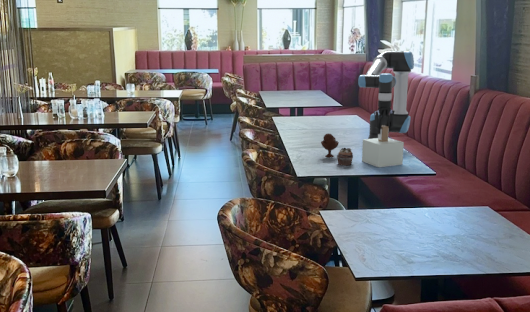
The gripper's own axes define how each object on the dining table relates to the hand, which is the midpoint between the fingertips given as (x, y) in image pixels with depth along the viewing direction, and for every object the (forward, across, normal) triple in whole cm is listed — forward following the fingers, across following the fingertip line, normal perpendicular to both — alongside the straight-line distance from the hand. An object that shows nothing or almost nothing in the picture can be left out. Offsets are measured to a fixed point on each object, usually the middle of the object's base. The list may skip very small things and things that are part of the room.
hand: (383, 139), depth 326 cm
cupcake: (+15, +22, -7) cm, 27 cm away
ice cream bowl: (+15, +20, -28) cm, 37 cm away
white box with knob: (+15, 0, 0) cm, 15 cm away
